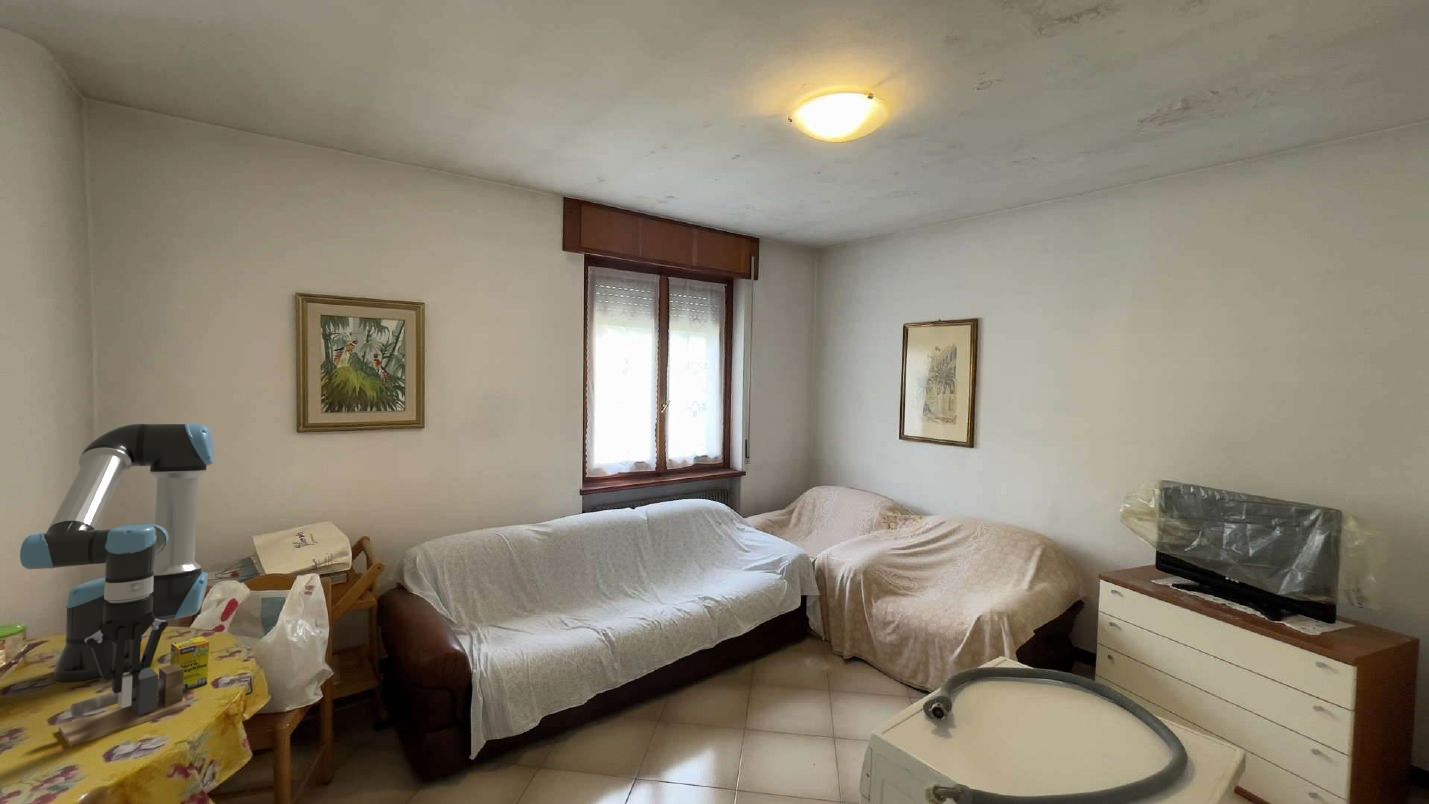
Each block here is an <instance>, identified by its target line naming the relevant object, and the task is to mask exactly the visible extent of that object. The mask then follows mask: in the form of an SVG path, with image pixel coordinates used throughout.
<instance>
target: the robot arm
mask: <svg viewBox="0 0 1429 804" xmlns="http://www.w3.org/2000/svg"><path fill="white" fill-rule="evenodd" d="M213 440H214V439H213V437H212V432H211V430H210V428H209V427H208V426H206V425H203V424H194V423H193V424H191V423H184V424H183V423H178V424H177V423H174V424H173V423H169V424H168V423H164V424H163V423H160V424H159V423H145V424H144V423H134V424H133V423H132V424H128V425H124V426H123V425H122V426H120V427H117V428H114V429H112V430H110V431H108V432H106V433H104V434H102V435H101V436H99V437H97V438H95V440H93V441H91V443H89V445H87V446H86V447H85V448H84V450H83V452H82V453H81V455H80V457H79V459H78V465H79V467H80V468H79V470H78V472H77V474H76V476H75V478H74V480H73V481H72V484H71V485H70V487H69V489H68V491H67V493H66V495H65V496H64V499H63V501H62V502H61V504H60V506H59V507H58V510H57V511H56V513H55V516H54V518H53V519H52V521H51V523H50V525H49V527H48V529H47V531H46V532H45V533H44V532H40V533H36V534H31V535H28V536H27V537H25V538H24V540H23V542H22V544H21V547H20V551H19V560H20V564H21V566H22V567H23V568H25V569H27V570H40V569H41V570H45V569H57V568H67V567H76V566H77V567H79V566H86V565H87V566H88V565H98V564H105V575H104V577H100V578H96V579H93V580H89V581H86V582H83V583H81V584H78V585H77V586H75V587H73V588H72V589H71V590H70V591H69V593H68V597H67V603H66V606H65V608H66V623H65V625H66V629H65V646H64V647H63V650H62V652H61V654H60V656H59V658H58V661H56V662H57V663H56V665H55V666H54V669H53V679H54V680H55V681H58V682H79V681H86V680H90V679H96V678H100V677H102V678H103V680H109V679H110V680H111V679H112V680H111V681H112V683H111V691H112V692H114V693H115V694H116V693H118V703H117V705H118V706H119V708H120V707H121V708H124V707H128V706H131V697H132V689H133V688H136V687H137V686H138V681H139V674H140V672H141V670H143V669H145V668H148V667H150V668H151V666H152V663H153V659H154V656H155V654H156V650H157V648H158V646H159V642H160V639H161V636H162V633H163V632H164V631H165V630H166V629H167V627H168V626H169V622H168V621H167V620H173V619H174V620H178V619H181V618H186V617H192V616H194V615H196V614H197V613H199V610H200V608H201V607H202V604H203V601H204V598H205V595H206V591H207V586H208V580H209V579H208V578H209V574H208V572H205V571H202V565H201V564H199V563H198V562H196V561H195V557H196V536H197V521H198V519H197V518H198V517H197V516H198V498H199V483H200V482H199V479H200V477H201V476H202V475H203V474H205V473H206V472H207V466H210V465H213V464H214V463H215V446H214V441H213ZM132 467H149V473H150V474H151V475H152V476H154V477H155V478H156V493H155V494H156V496H155V509H154V523H145V524H132V525H124V526H123V525H122V526H118V527H115V528H112V529H98V528H99V526H100V524H101V522H102V519H103V517H104V515H105V513H106V511H107V508H108V506H109V504H110V502H111V500H112V497H113V495H114V493H115V491H116V488H117V486H118V484H119V482H120V479H121V478H122V476H123V475H124V474H126V473H127V472H128V471H130V470H131V468H132ZM150 627H151V632H150V634H149V636H148V639H147V643H146V645H145V648H144V651H143V654H142V656H141V651H142V650H141V645H142V639H143V636H144V634H145V633H146V632H147V631H148V629H149V628H150ZM125 669H128V672H124V670H125Z"/></svg>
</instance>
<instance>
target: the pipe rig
mask: <svg viewBox="0 0 1429 804" xmlns="http://www.w3.org/2000/svg"><path fill="white" fill-rule="evenodd" d="M183 672H184V669H183V668H182V667H180V666H179V665H178V664H172V665H170V664H169V665H166V666H162V667H159V668H158V693H157V710H155V711H151V712H148V713H145V714H142V715H139V716H138V715H137V714H136V713H135V712H134V711H133V710H132V709H131V708H130V707H129V706H128V707H124V708H121V707H120V706H119V707H117V708H114V709H111V710H107V711H104V712H101V713H97V714H94V715H92V716H91V715H90V716H88V717H85V718H82V719H77V720H75V721H72V722H69V723H64V724H62V725H59V726H58V732H59V733H60V735H61V737H63V739H64V740H65V742H66V743H67V744H68V746H69V747H70V748H72V747H74V746H77V745H81V744H83V743H86V742H89V741H93V740H95V739H98V738H99V739H100V738H102V737H104V736H107V735H110V734H113V733H116V732H119V731H122V730H125V729H129V728H131V727H134V726H138V725H140V724H143V723H146V722H149V721H152V720H155V719H158V718H162V717H165V716H168V715H171V714H173V713H176V712H179V711H180V712H181V711H182V710H186V709H187V703H185V702H184V701H183V693H184V691H183ZM134 698H136V688H133V689H132V697H131V699H134ZM114 705H118V693H116V694H115V693H114V692H113V691H112V692H110V693H107V694H102V695H100V696H96V697H92V698H90V699H85V700H81V701H79V702H75V703H71V707H70V710H71V711H70V713H71V717H72V718H75V717H77V716H81V715H84V714H87V713H91V712H95V711H98V710H100V709H104V708H107V707H110V706H114Z"/></svg>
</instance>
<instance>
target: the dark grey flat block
mask: <svg viewBox="0 0 1429 804" xmlns="http://www.w3.org/2000/svg"><path fill="white" fill-rule="evenodd" d="M158 679H159V673H157V672H156V671H155V670H153V669H152V668H151V666H150V667H148V668H145V669H143V670H141V672H140V674H139V681H138V686H137V687H136V698H134V699H131V706H129V707H130V708H131V709H132V710H133V711H134V712H135V713H136V714H137V715H138V716H139V715H142V714H145V713H148V712H151V711H155V710H157V696H158Z"/></svg>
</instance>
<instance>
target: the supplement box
mask: <svg viewBox="0 0 1429 804" xmlns="http://www.w3.org/2000/svg"><path fill="white" fill-rule="evenodd" d="M209 650H210V641H209V640H208V639H206V638H204V637H203V636H202V635H201V636H197V637H193V638H189V639H185V640H182V641H178V642H171V644H170V664H169V665H172V664H178V665H179V666H180V667H182V668H183V669H184V672H183V692H184V691H185V692H186V691H188V690H191V689H195V688H198V687H201V686H202V687H203V686H206V685H207V684H208V672H209V654H210V652H209Z"/></svg>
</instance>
